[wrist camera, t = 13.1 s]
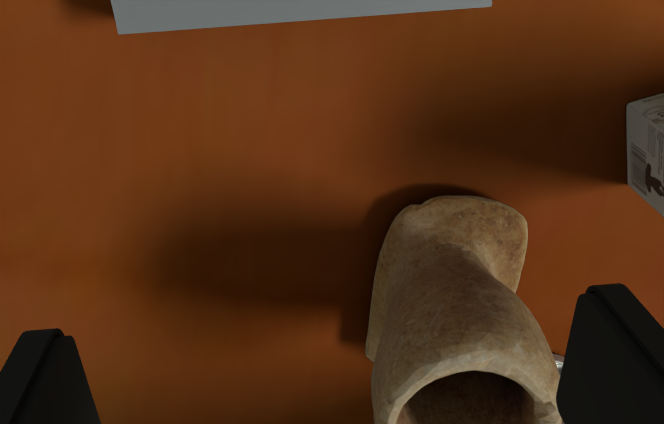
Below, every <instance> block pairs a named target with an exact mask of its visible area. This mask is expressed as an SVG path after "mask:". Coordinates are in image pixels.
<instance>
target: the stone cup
mask: <svg viewBox="0 0 664 424" xmlns="http://www.w3.org/2000/svg"><path fill="white" fill-rule="evenodd" d="M527 240H528V229H527V222H526V220H525V218H524V217H523V216H522V215H521V214H520V213H519V212H518V211H516V210H515V209H514V208H512V207H510V206H508V205H506V204H503V203H501V202H498V201H495V200H492V199H488V198H484V197H478V196H451V195H446V196H438V197H435V198H431V199H429V200H427V201H425V202H424V203H423V204H421V205H409V206H407V207H405V208H404V209H403V210H402V211H401V212H400V213H399V214H398V215H397V216H396V217H395V219H394V220H393V222H392V224H391V226H390V228H389V230H388V232H387V235H386V237H385V240H384V243H383V245H382V248H381V251H380V254H379V258H378V262H377V267H376V272H375V277H374V284H373V291H372V299H371V307H370V316H369V326H368V334H367V340H366V348H365V349H366V356H367V357H368V358H369V359H370V360H371V361H373V362H374V365H373V371H372V378H371V394H372V406H373V411H374V424H562V418H561V416H560V414H559V412H558V409H557V404H556V393H557V389H558V384H559V380H560V374H559V371H558V368H557V365H556V362H555V359H554V357H553V354H552V352H551V350H550V347H549V345H548V343H547V341H546V338H545V336H544V334H543V332H542V330H541V328H540V326H539V324H538V322H537V321H536V319H535V318H534V316H533V315H532V313H531V312H530V311H529V309H528V308H527V307H526V305H525V304H524V303H523V302H522V301H521V299H520V298H519V297H518V296H517V295H516V294H515V292H516V289H517V286H518V283H519V279H520V274H521V270H522V267H523V264H524V259H525V253H526V249H527Z"/></svg>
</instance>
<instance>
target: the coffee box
mask: <svg viewBox="0 0 664 424" xmlns="http://www.w3.org/2000/svg"><path fill="white" fill-rule="evenodd" d="M626 124H627V178H628V185H629V186H630V187H631V188H632V189H633V190H634V191H635V192H636V193H637V194H638V195H640V196H641V197H642V198H643V199H644V200H645V201H646V202H648V203H649V204H650V205H651V206H652V207H653V208H654V209H655V210H656V211H657V212H659V213H660V214H661V215H662V216H663V217H664V93H662V94H658V95H655V96H651V97H648V98H644V99H640V100H637V101H634V102H631V103H628V104H627V107H626Z"/></svg>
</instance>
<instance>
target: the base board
mask: <svg viewBox="0 0 664 424" xmlns="http://www.w3.org/2000/svg"><path fill="white" fill-rule="evenodd" d="M111 4H112V8H113V13H114V17H115V21H116V26H117V30H118V34H131V33H144V32H158V31H171V30H185V29H198V28H211V27H225V26H238V25H252V24H265V23H278V22H292V21H305V20H319V19H332V18H346V17H359V16H372V15H386V14H399V13H413V12H426V11H439V10H453V9H466V8H480V7H491V6H492V0H111Z"/></svg>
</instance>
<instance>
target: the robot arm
mask: <svg viewBox="0 0 664 424" xmlns="http://www.w3.org/2000/svg"><path fill="white" fill-rule="evenodd" d="M553 357H554V359H555V362H556V365H557V368H558V371H559V374H560V380H559V384H558V389H557V393H556V404H557V409H558V412H559V414H560V416H561V418H562V424H664V329H663V328H662V326H661V325H660V324H659V323H658V322H657V321H656V320H655V319H654V317H653V316H652V315H651V314H650V313H649V312H648V311H647V309H646V308H645V307H644V306H643V305H642V304H641V303H640V302H639V300H638V299H637V298H636V297H635V296H634V295H633V294H632V292H631V291H630V290H629V289H628V288H627V287H626V286H625V285H623V284H620V283H618V284H605V285H593V286H589V287H588V289H587V290H586V293H585V294H581V295H580V296H579V297H578V300H577V303H576V308H575V312H574V317H573V321H572V326H571V330H570V335H569V339H568V344H567V348H566V353H565V357H563V356H560V355H557V354H553ZM0 424H101V422H100V419H99V416H98V413H97V410H96V407H95V403H94V400H93V397H92V394H91V391H90V388H89V385H88V381H87V378H86V375H85V372H84V369H83V366H82V362H81V359H80V356H79V353H78V350H77V347H76V344H75V341H74V338H73V337H72V336H64V334H63V332H62V331H61V330H60V329H57V328H56V329H44V330H31V331H25V332H23V333H22V334H21V336H20V337H19V339H18V341H17V343H16V345H15V346H14V348H13V350H12V352H11V354H10V355H9V357H8V359H7V361H6V363H5V365H4V366H3V368H2V370H1V372H0Z"/></svg>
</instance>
